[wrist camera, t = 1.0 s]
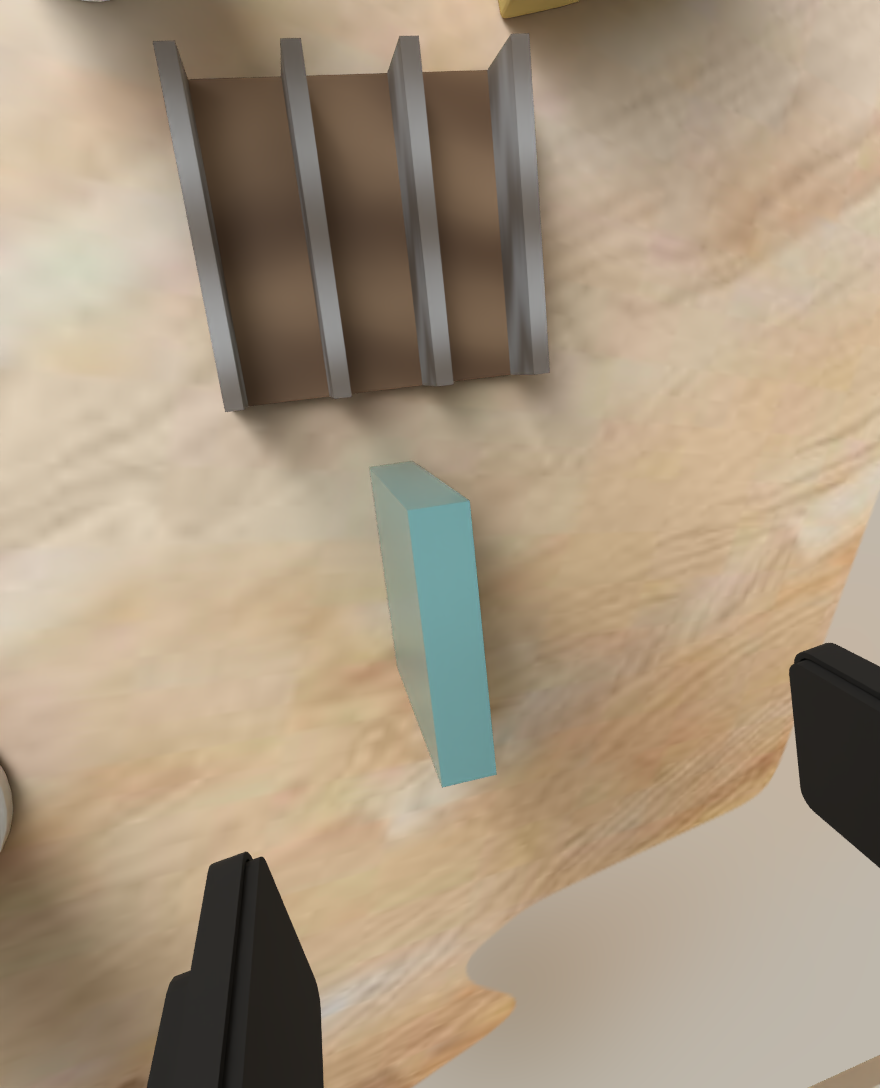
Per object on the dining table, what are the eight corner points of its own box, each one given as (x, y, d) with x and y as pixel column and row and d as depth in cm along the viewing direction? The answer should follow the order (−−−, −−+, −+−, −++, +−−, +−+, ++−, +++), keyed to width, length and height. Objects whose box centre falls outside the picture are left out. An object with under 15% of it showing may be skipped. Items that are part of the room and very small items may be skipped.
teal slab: (436, 658, 39) (496, 774, 28) (397, 666, 39) (442, 787, 28) (412, 460, 36) (469, 501, 25) (369, 467, 36) (407, 510, 24)
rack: (520, 372, 36) (553, 372, 32) (229, 407, 33) (220, 412, 29) (499, 80, 32) (533, 33, 28) (168, 91, 29) (147, 41, 25)
